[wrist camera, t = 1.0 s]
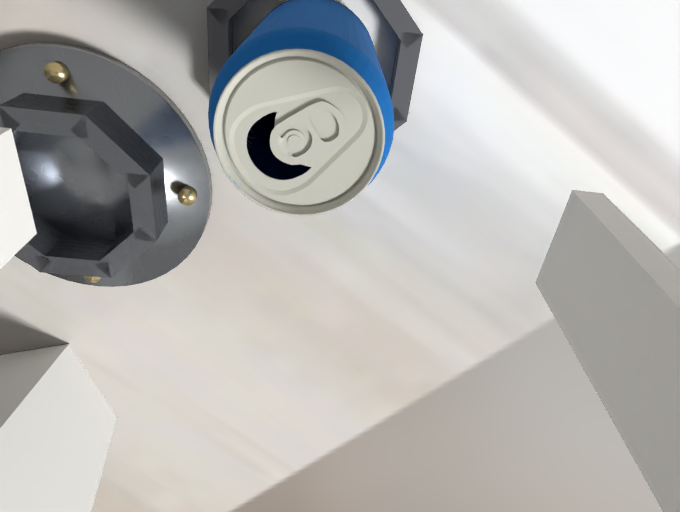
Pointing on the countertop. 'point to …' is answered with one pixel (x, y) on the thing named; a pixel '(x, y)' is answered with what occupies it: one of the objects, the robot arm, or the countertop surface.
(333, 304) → the countertop surface
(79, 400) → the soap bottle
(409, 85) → the stand ring
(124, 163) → the hub socket
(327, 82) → the beverage can
